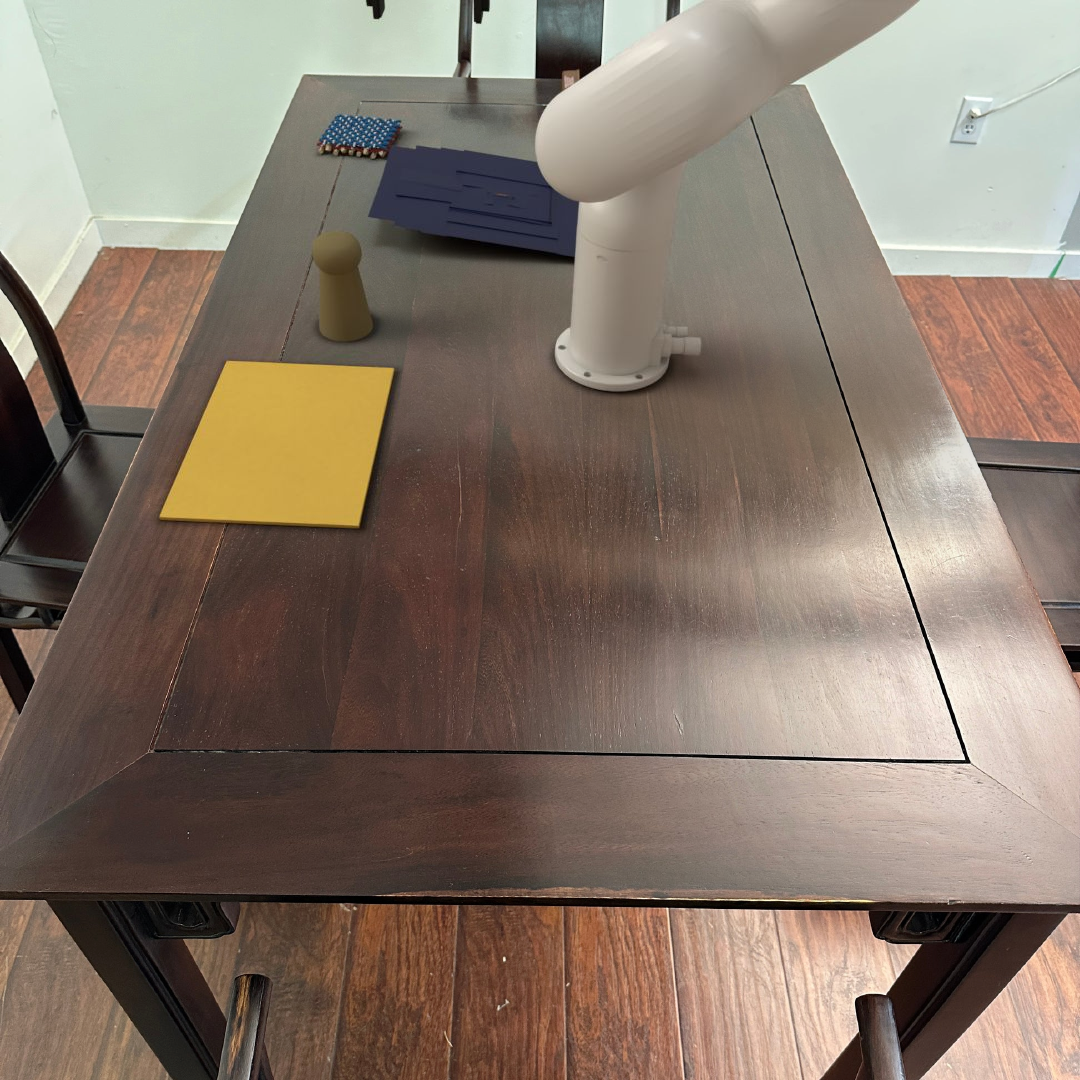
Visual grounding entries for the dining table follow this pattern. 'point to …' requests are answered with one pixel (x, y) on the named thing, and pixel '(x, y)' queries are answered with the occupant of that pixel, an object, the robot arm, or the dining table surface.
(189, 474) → the board
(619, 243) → the robot arm
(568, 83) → the tin
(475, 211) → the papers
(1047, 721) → the dining table surface
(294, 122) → the dining table surface
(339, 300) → the tan pawn
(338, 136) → the woven mat
